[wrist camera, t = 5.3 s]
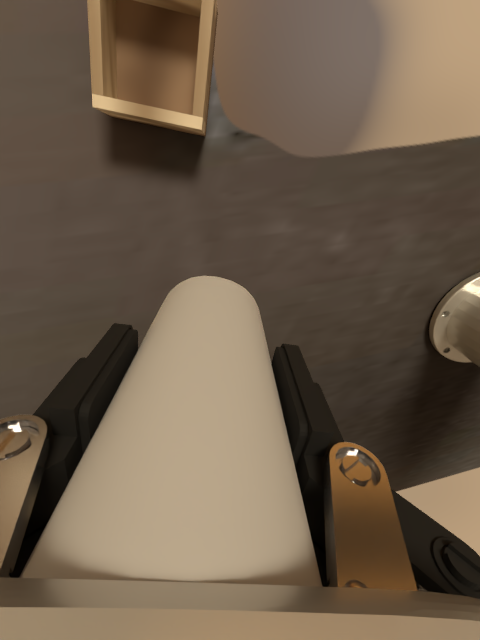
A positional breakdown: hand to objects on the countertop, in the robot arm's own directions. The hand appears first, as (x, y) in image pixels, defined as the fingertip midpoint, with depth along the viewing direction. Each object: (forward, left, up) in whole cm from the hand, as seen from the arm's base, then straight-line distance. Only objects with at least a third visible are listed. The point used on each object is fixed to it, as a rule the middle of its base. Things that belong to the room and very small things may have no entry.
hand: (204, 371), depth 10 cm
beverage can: (0, 0, -5) cm, 5 cm away
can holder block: (+7, -13, -22) cm, 27 cm away
